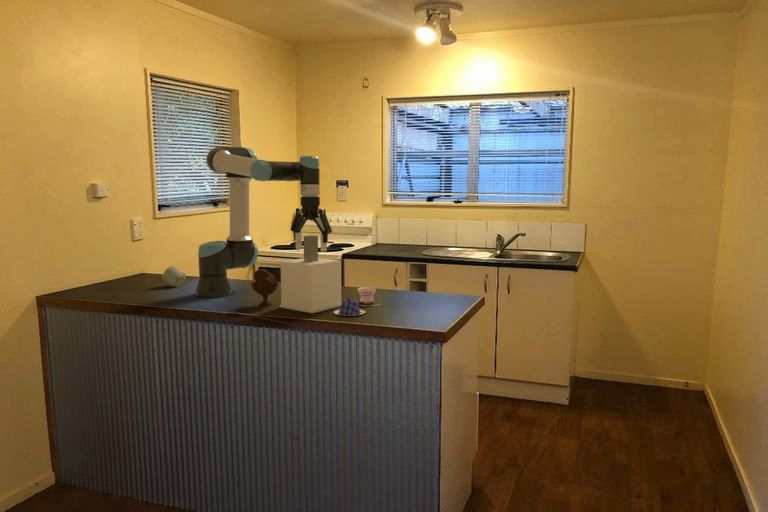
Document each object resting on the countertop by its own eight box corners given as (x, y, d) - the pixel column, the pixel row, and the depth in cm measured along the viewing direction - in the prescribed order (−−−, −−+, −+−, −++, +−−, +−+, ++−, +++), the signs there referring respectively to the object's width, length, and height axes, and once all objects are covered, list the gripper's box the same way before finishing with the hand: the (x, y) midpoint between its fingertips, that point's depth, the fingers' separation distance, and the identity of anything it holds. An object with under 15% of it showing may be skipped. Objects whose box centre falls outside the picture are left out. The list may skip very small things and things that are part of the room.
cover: (281, 305, 237) (280, 236, 233) (311, 299, 250) (310, 233, 246) (312, 311, 226) (311, 238, 223) (341, 304, 240) (340, 235, 236)
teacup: (348, 302, 247) (348, 287, 246) (375, 300, 252) (375, 285, 251) (359, 308, 236) (358, 292, 235) (386, 305, 241) (386, 290, 240)
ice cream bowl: (273, 308, 234) (272, 270, 232) (246, 307, 236) (245, 270, 234) (283, 303, 244) (282, 267, 242) (257, 302, 246) (256, 266, 244)
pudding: (372, 314, 226) (371, 300, 225) (348, 319, 218) (348, 304, 217) (351, 309, 235) (351, 296, 234) (327, 313, 226) (327, 300, 226)
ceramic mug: (174, 291, 280) (176, 279, 275) (160, 281, 281) (162, 270, 276) (189, 280, 288) (192, 269, 283) (176, 270, 289) (179, 259, 285)
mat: (279, 307, 236) (279, 305, 236) (311, 300, 251) (311, 298, 251) (312, 313, 226) (312, 311, 226) (343, 305, 240) (343, 304, 240)
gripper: (280, 195, 237) (282, 248, 240) (327, 196, 222) (327, 253, 225) (294, 195, 243) (295, 247, 246) (340, 196, 228) (341, 251, 231)
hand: (311, 250), depth 235 cm, fingers open, 13 cm apart
